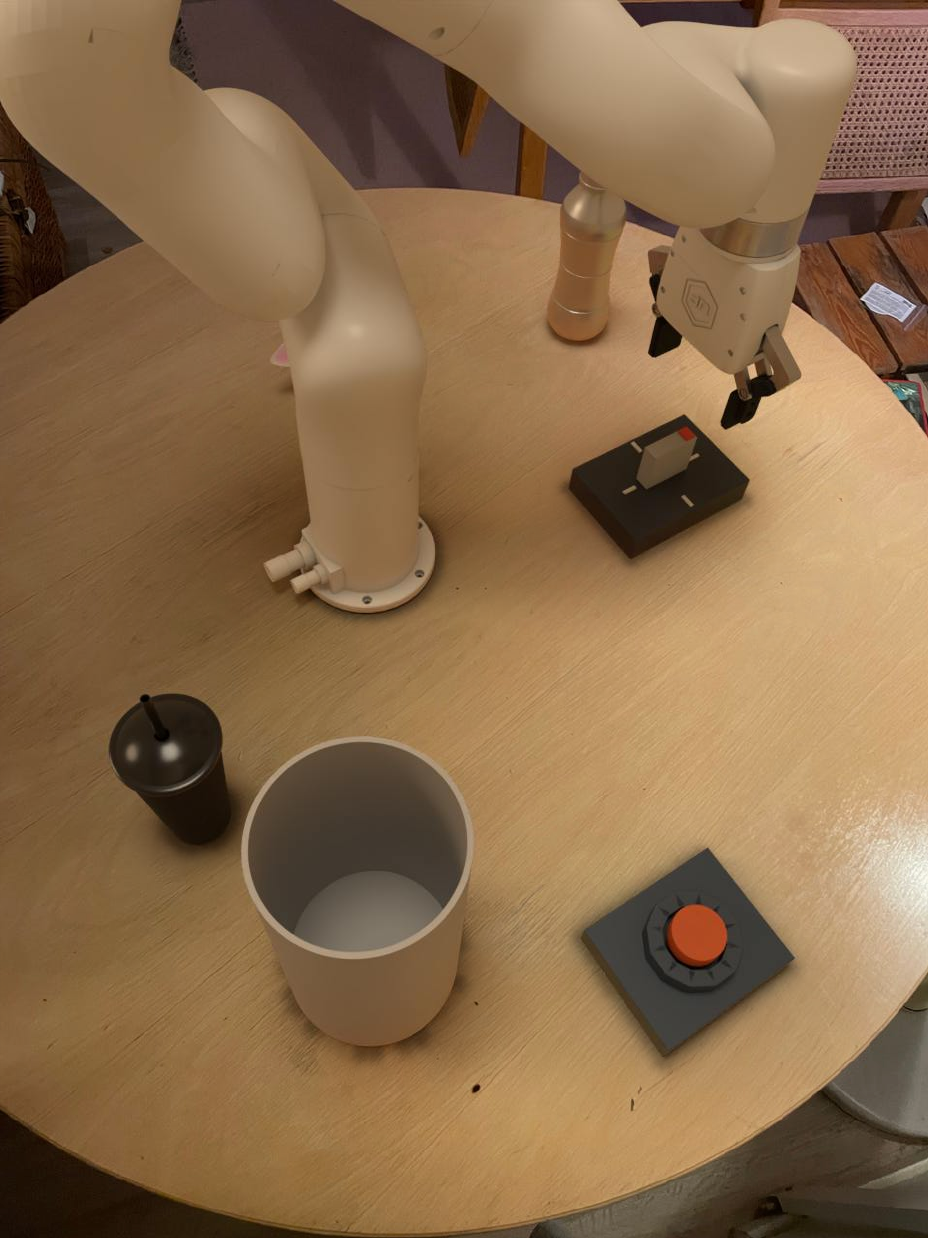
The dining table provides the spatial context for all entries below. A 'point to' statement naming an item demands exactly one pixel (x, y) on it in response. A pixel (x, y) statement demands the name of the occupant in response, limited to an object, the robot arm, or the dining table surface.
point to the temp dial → (666, 457)
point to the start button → (696, 935)
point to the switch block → (662, 984)
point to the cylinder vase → (362, 884)
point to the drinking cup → (174, 763)
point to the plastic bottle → (585, 259)
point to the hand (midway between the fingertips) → (698, 385)
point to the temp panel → (656, 490)
